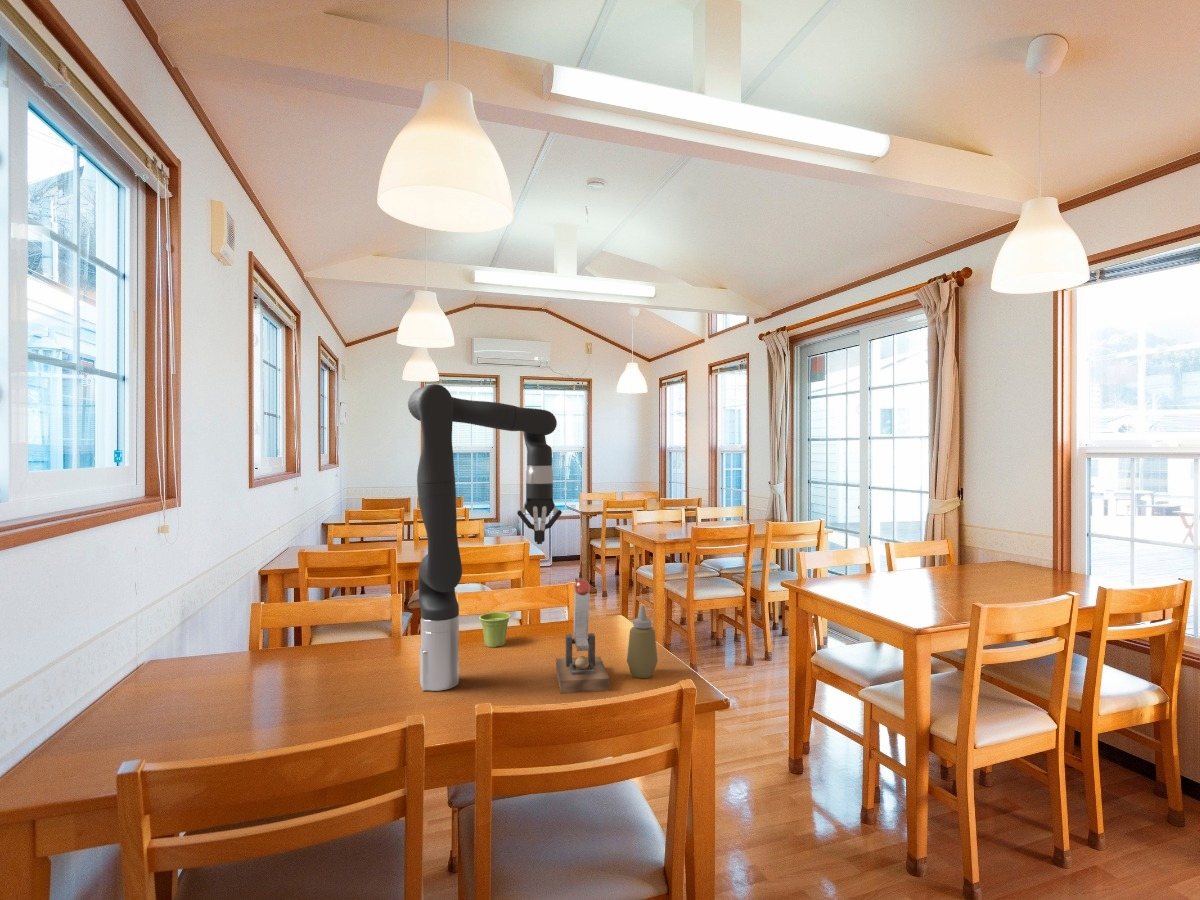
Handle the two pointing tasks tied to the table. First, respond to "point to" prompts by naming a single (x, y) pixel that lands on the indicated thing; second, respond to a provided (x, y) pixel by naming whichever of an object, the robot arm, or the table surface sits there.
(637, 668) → the squeeze bottle
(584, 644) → the lever
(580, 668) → the walnut
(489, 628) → the plant pot
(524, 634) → the table surface
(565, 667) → the nutcracker base
